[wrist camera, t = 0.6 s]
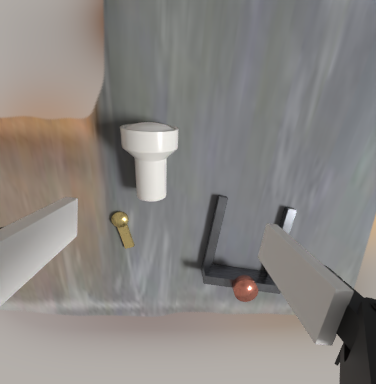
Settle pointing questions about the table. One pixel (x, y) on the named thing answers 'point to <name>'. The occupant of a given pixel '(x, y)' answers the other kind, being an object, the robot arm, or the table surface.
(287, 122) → the table surface
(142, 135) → the spotlight
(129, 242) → the brass key
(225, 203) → the channel
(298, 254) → the robot arm
